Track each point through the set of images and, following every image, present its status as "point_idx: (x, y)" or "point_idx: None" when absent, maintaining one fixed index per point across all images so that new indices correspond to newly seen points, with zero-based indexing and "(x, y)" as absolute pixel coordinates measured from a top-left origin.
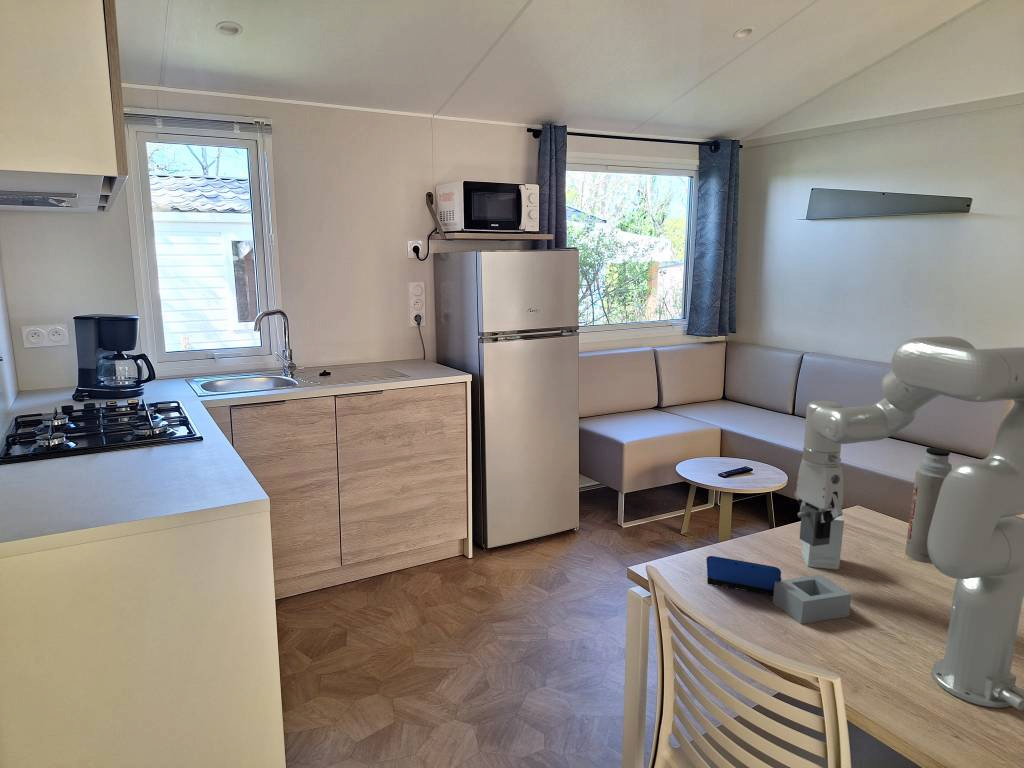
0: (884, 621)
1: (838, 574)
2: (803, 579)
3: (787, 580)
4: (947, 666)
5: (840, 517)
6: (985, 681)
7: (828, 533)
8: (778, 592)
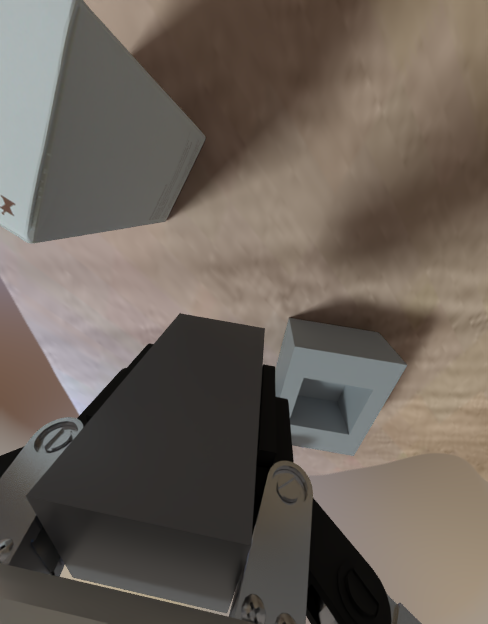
0: (445, 284)
1: (230, 170)
2: (291, 397)
3: None
4: None
5: None
6: None
7: (288, 409)
8: None
